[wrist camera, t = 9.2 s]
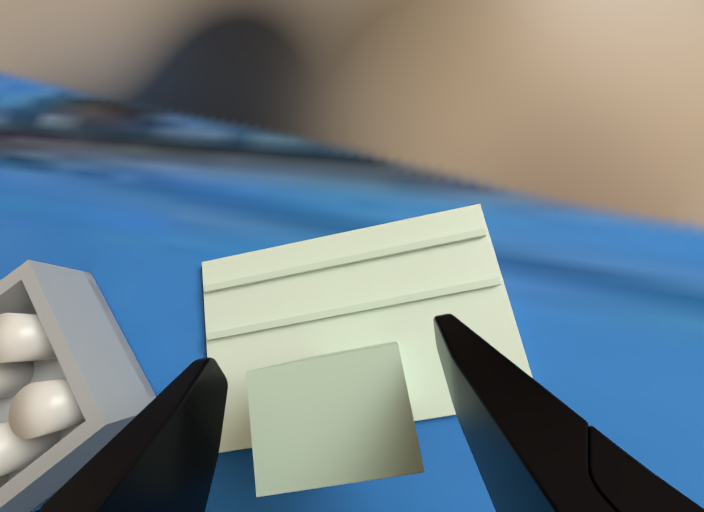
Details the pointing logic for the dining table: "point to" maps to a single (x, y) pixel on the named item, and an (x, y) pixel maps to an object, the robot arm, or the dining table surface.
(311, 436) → the pale green grooved stand
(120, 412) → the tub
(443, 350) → the robot arm
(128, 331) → the dining table surface
